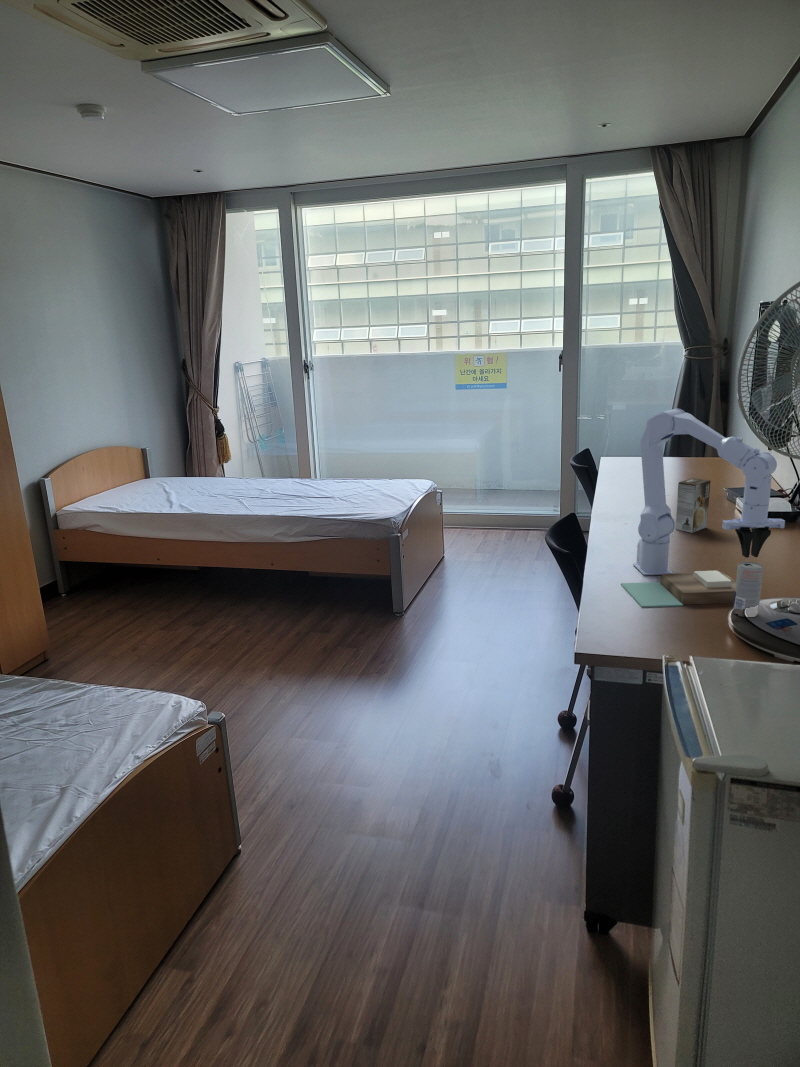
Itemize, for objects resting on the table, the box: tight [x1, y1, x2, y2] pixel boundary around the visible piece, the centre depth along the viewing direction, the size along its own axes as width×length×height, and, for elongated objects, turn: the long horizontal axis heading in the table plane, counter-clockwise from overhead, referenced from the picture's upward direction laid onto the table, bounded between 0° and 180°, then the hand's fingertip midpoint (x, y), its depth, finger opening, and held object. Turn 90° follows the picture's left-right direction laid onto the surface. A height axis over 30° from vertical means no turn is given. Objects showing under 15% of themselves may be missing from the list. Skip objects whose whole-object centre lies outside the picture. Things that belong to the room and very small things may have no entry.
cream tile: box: [693, 570, 731, 588], centre depth 182 cm, size 8×6×2 cm
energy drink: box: [732, 561, 764, 610], centre depth 168 cm, size 5×5×12 cm
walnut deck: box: [660, 571, 736, 605], centre depth 182 cm, size 14×16×3 cm
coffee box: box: [674, 477, 712, 534], centre depth 237 cm, size 9×6×16 cm
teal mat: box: [620, 581, 684, 608], centre depth 182 cm, size 16×10×1 cm, turn 1°
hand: (749, 556), depth 180 cm, fingers closed
